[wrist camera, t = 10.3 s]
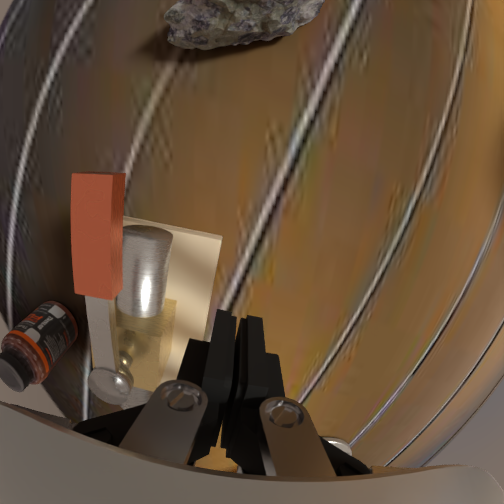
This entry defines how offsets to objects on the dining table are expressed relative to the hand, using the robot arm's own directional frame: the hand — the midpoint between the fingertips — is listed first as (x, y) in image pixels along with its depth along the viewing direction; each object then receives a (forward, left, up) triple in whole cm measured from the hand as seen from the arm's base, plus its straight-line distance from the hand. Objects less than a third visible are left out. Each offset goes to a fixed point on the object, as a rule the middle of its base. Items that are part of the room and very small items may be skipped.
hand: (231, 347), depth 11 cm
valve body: (-10, +7, -16) cm, 20 cm away
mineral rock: (+21, +4, -17) cm, 28 cm away
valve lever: (-3, +8, -7) cm, 11 cm away
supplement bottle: (-14, +19, -17) cm, 29 cm away
